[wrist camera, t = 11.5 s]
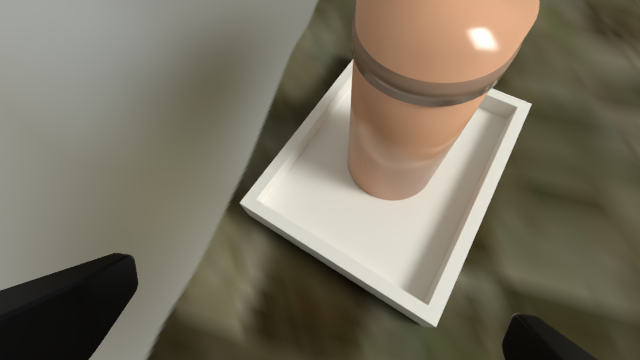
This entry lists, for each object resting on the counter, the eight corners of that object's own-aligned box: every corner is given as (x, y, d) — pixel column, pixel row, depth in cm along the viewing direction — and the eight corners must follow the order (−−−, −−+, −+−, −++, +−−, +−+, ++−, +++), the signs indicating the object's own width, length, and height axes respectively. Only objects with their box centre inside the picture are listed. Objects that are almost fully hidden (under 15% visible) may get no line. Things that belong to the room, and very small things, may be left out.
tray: (423, 326, 19) (436, 327, 17) (248, 215, 22) (239, 202, 20) (513, 123, 25) (531, 104, 23) (365, 62, 29) (368, 40, 26)
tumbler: (436, 206, 21) (560, 63, 9) (342, 197, 22) (346, 54, 10) (433, 127, 24) (526, -60, 12) (349, 122, 24) (360, -61, 13)
